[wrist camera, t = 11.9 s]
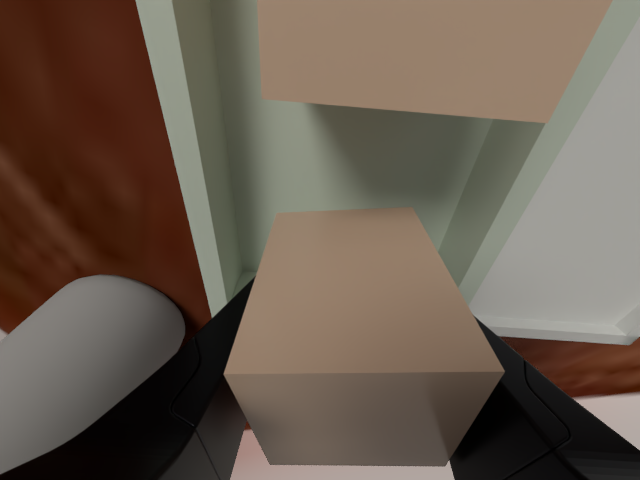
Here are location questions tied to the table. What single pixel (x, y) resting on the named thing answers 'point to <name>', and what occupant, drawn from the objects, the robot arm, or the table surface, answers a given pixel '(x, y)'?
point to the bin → (340, 148)
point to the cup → (80, 360)
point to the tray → (579, 229)
